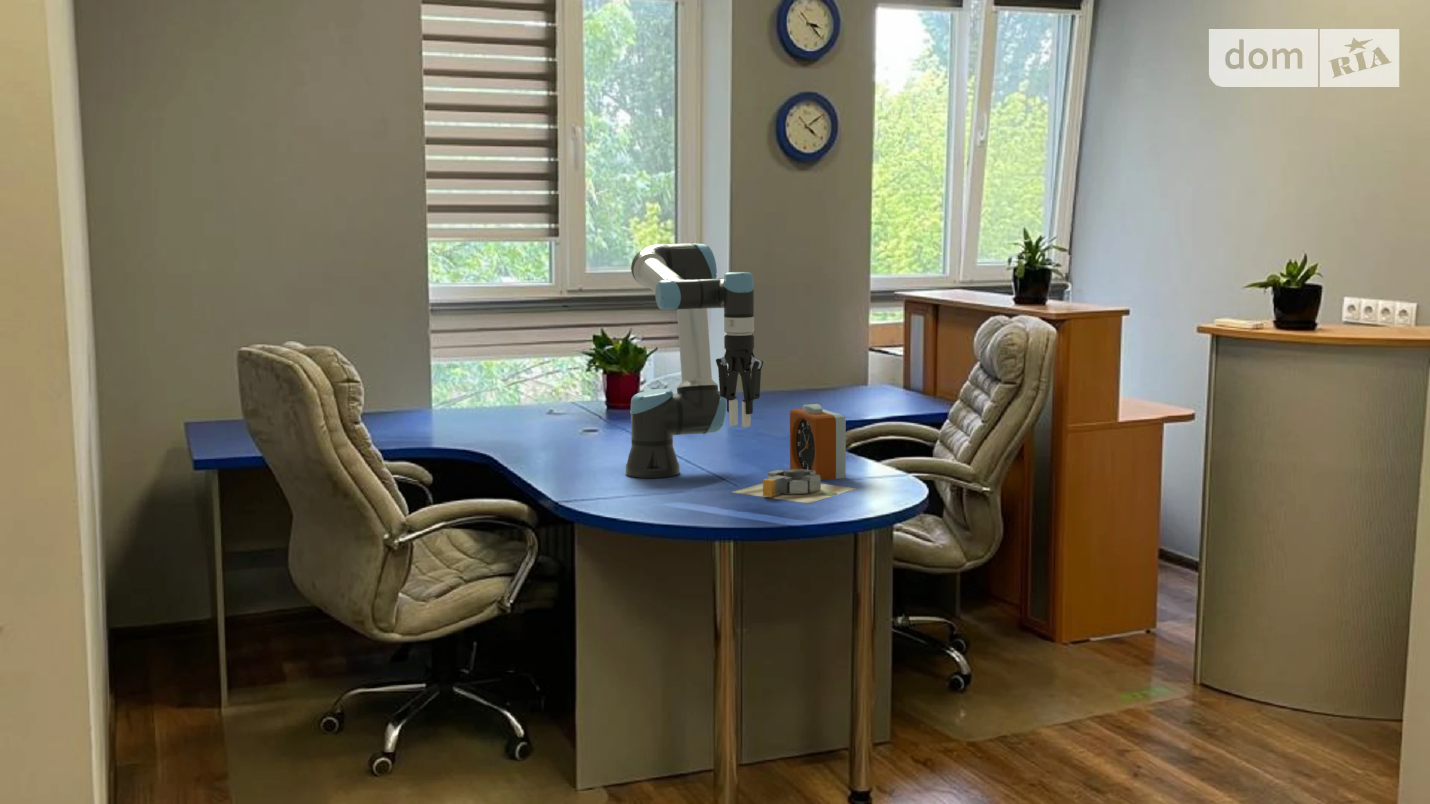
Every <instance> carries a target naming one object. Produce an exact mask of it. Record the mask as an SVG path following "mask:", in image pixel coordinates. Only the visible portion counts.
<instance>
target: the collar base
mask: <svg viewBox="0 0 1430 804" xmlns="http://www.w3.org/2000/svg"><path fill="white" fill-rule="evenodd" d="M784 476H787V477H792V480H802V477H803V476H804V471H803V470H798V469H790V468H789V469H785V470H784ZM854 490H857V488H856V487H849V486H847V487H846V486H840V485H833V484H827V483H826V484H825V483H821V489H820V490H818V491H814V492H811V493H797V494H789V493H787V494H786V493H782V494H779V495H775V496H773V497H768V496H763V482H762V483H758V484H755V485H752V486H751V485H750V486H748V487H744V488H741V489H738V490H733V491H731V493H733V494H734V493H735V494H741V495H748V496H754V497H760V498H768V499H769V498H770V499H777V500H783V501H789V502H796V503H804V504H812V503H816V502H819V501H822V500H825V499H827V498H832V497H835V496H838V495H841V494H844V493H847V492H850V491H854Z"/></svg>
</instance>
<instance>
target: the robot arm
mask: <svg viewBox="0 0 1430 804" xmlns="http://www.w3.org/2000/svg"><path fill="white" fill-rule="evenodd" d="M630 266H631V267H630V269H631V275H632V277H633V279H634V280H635V281H636V282H637V283H638V284H639V285H640V286H642V287H645V288H649V289H651V291H653V293H654V294H655V303H656V306H657V307H658V308H659V309H660V310H664V311H665V310H668V311H675V310H676V314H677V315H676V317H677V330H678V343H679V346H678V347H679V358H680V372H681V373H680V374H681V382H680V383H679V385H677V387H676V392H677V393H674V392H673V389H670V388H656V389H655V388H654V389H649V390H643V391H640V392H638V393H636V394H634V395H633V396H632V397H631V400H630V411H629V412H630V413H629V414H630V436H631V438H630V440H631V447H630V450H629V454H628V458H627V462H626V464H625V475H627V476H629V477H634V478H640V479H641V478H642V479H643V478H644V479H653V478H654V479H656V478H660V479H661V478H668V477H673V476H677V475H679V474H680V472H681V470H680V469H681V468H680V467H681V466H680V464H679V461H678V458H677V454H676V450H675V448H674V440H673V439H674V436H682V435H699V434H700V435H701V434H702V435H706V434H712V433H713V434H714V433H717V432H720V430H721V429H722V428H723V426H724V422H725V418H726V414H727V413H728V426H729V427H734V426H738V425H739V412H738V411H739V405H738V404H739V403H738V401H739V400H738V399H737V398H738V397H737V396H736V393H737V386H738V378H739V377H738V376H739V375H740V379H741V387H742V391H743V392H742V393H743V400H742V401H741V428H748V427H751V426H752V421H751V418H752V417H751V415H752V414H753V413H754V411H753V410H754V408H753V407H754V401H755V400H759V399H760V396H761V377H762V376H761V374H762V367H763V366H764V361H763V360H759V359H758V358H756V357H755V354H754V349H755V335H754V334H753V333H754V332H755V317H754V316H755V315H754V314H755V312H754V311H755V309H754V308H755V306H754V305H755V302H754V301H755V300H754V299H755V298H754V297H755V296H754V295H755V294H754V292H755V291H754V290H755V283H754V275H753V273H752V272H749V271H748V272H746V271H730V272H729V271H728V272H725V273H724V275H723V277H719V278H717V273H718V272H717V271H718V268H717V263H716V259H715V255H714V253H713V250H712V249H711V248H710V246H708V245H707V244H705V243H694V242H691V243H690V242H687V243H656V244H652V245H648V246H646V247H644V248H642V249H641V250H640V251H638V252H637V253H636V255H634V257H633V259H632V262H631V265H630ZM708 309H723V322H724V323H723V325H724V326H723V330H724V331H723V332H724V333H725V335H724V337H723V341H724V343H723V344H724V350H725V352H724V356H722V357H719V358H716V359H715V362H716V366H717V368H718V369H717V370H718V372H717V373H718V383H717V382H716V381H714V380H713V376H712V374H713V373H712V362H711V361H712V360H711V347H710V346H711V345H710V333H709V331H710V330H709V317H708ZM751 367H752V368H751Z"/></svg>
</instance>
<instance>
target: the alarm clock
mask: <svg viewBox="0 0 1430 804" xmlns="http://www.w3.org/2000/svg"><path fill="white" fill-rule="evenodd" d="M846 427H847V425H846V417H845V416H844V415H843V414H841V413H838V412H834V411H831V410H828V409H824V408H823V407H822V406H821V404H819V403H815V404H814V403H812V404H803V405H802V408H801V407H800V408H793V409H791V410H790V412H789V469H798V470H799V469H805V470H813V471H815V474H817V475H820V478H821V481H827V480H838V479H845V478H846V477H847V476H846V475H847V473H846V467H847V466H846V465H847V463H846V459H847V458H846V456H847V455H846V453H847V452H846V448H847V447H846V441H847V439H846V436H847V432H846V431H847V430H846Z"/></svg>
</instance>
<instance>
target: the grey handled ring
mask: <svg viewBox="0 0 1430 804" xmlns="http://www.w3.org/2000/svg"><path fill="white" fill-rule="evenodd" d="M799 470H803V471H804V476H803V477H802V480H792V477H787V476H784V471H785V470H783V469H775V470H772V471H768V472H767V476H766V477H767V478H764V479H762V483H763V496H768V497H773V496H775V495H779V494H782V493H786V494H787V493H789V494H797V493H811V492H814V491H818V490H820V489H821V484H822V483H821V481H822V480H821V478H820V475H817V474H815V471H813V470H805V469H799Z"/></svg>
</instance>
